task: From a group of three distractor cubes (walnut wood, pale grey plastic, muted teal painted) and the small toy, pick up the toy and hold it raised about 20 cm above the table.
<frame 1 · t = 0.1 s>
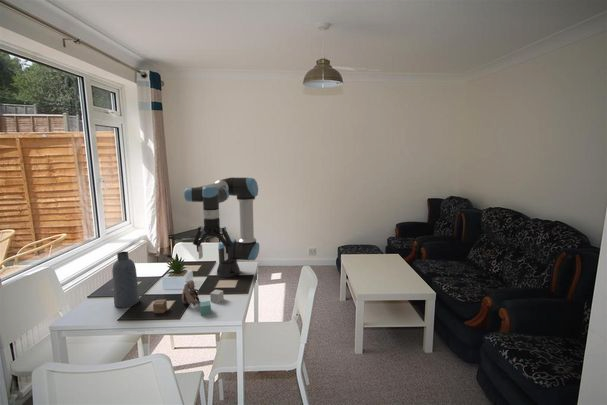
hand: (213, 258, 164), 28 cm above the table, fingers open, 13 cm apart
grey cube: (217, 300, 180), on the table
teal cube: (205, 312, 167), on the table
toy: (191, 303, 176), on the table
walnut cube: (160, 310, 169), on the table
vase: (127, 303, 177), on the table
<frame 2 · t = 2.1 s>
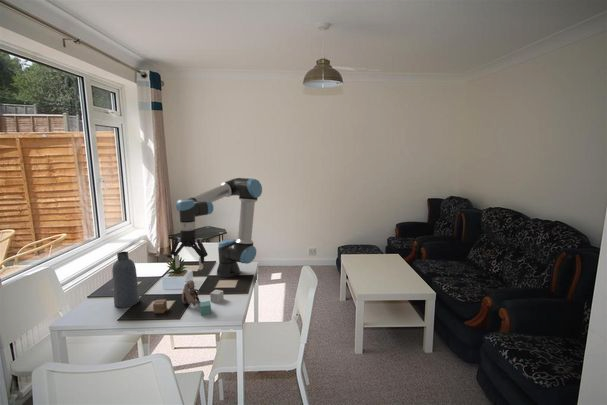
hand: (189, 268, 174), 20 cm above the table, fingers open, 13 cm apart
nothing on the table moved.
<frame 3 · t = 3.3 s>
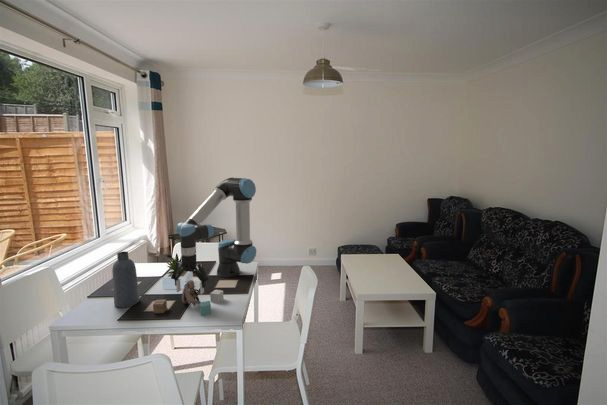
hand: (190, 292, 175), 7 cm above the table, fingers open, 13 cm apart
nothing on the table moved.
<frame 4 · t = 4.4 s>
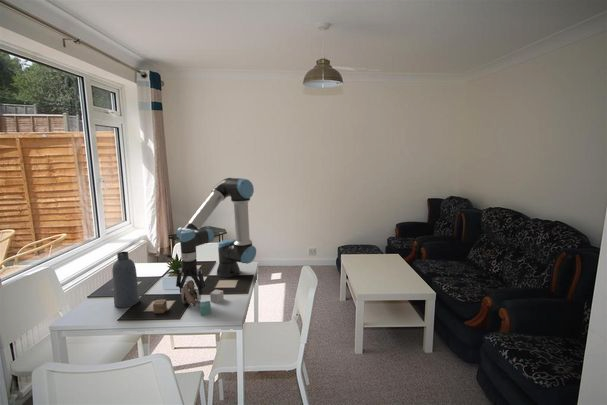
hand: (191, 299, 176), 2 cm above the table, fingers closed on toy, 8 cm apart
toy: (191, 303, 176), on the table, touching gripper
everything else where it was.
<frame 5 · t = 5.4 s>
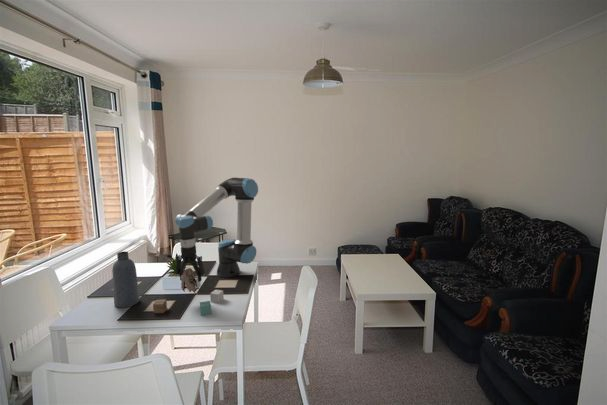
hand: (191, 286, 175), 10 cm above the table, fingers closed on toy, 8 cm apart
toy: (192, 291, 176), point 7 cm above the table, touching gripper
everything else where it was.
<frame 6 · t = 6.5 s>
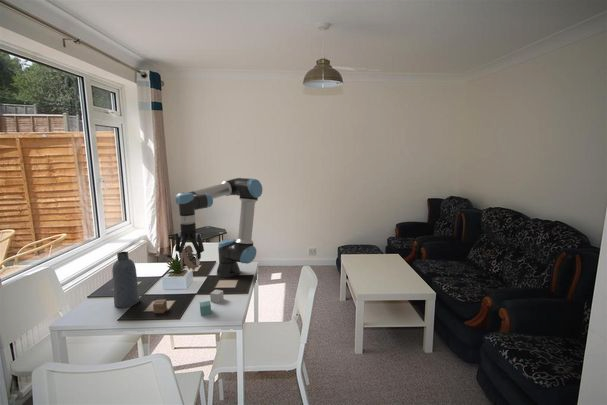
hand: (190, 264, 174), 22 cm above the table, fingers closed on toy, 8 cm apart
toy: (191, 269, 174), point 19 cm above the table, touching gripper
everything else where it was.
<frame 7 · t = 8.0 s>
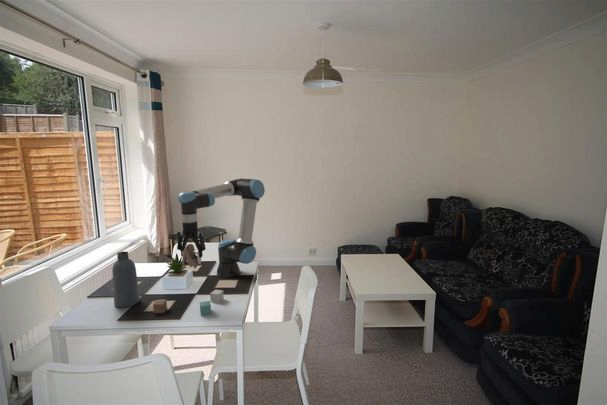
hand: (192, 262, 176), 22 cm above the table, fingers closed on toy, 8 cm apart
toy: (192, 268, 176), point 19 cm above the table, touching gripper
everything else where it was.
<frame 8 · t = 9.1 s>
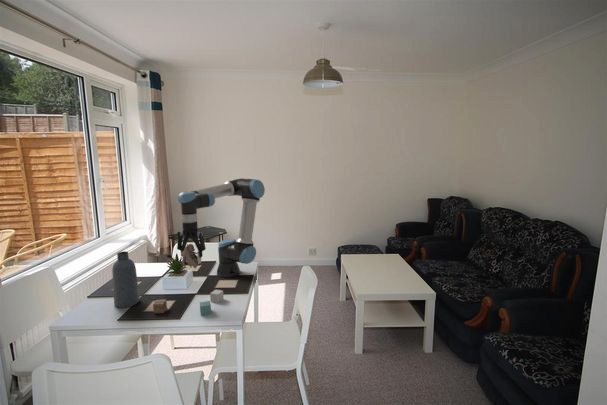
hand: (192, 262, 176), 22 cm above the table, fingers closed on toy, 8 cm apart
toy: (192, 268, 176), point 19 cm above the table, touching gripper
everything else where it was.
at the end: the gripper is holding toy; toy point 19.2 cm above the table; grey cube moved 0.1 cm from its start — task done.
